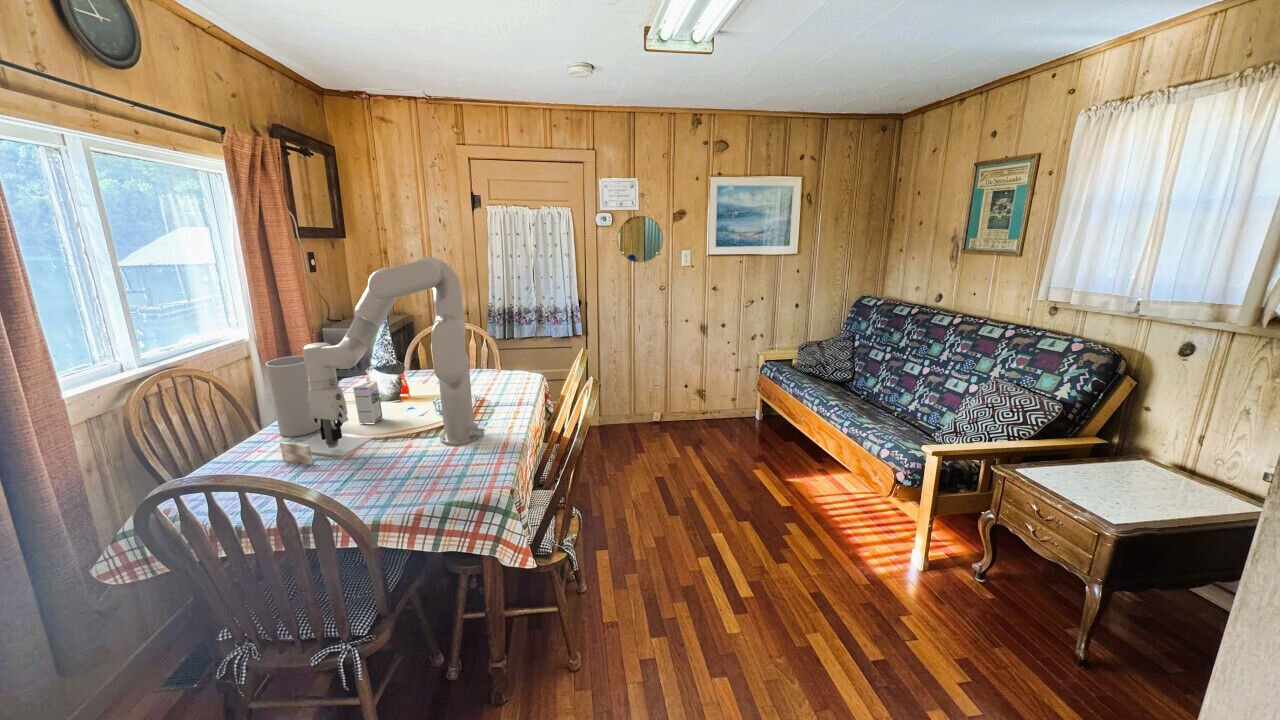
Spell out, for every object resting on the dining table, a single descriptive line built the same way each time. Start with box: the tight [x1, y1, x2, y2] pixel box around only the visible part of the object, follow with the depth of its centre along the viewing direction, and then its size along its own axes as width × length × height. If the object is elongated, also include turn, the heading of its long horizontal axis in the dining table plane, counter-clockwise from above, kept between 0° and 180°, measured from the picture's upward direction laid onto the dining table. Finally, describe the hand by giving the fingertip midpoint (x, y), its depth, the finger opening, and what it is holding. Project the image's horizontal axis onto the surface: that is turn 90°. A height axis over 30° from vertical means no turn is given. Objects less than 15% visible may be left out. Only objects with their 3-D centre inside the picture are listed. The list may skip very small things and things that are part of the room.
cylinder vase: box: [265, 355, 320, 438], centre depth 174 cm, size 12×12×25 cm
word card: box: [279, 441, 314, 465], centre depth 154 cm, size 10×1×6 cm, turn 77°
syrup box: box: [352, 380, 384, 424], centre depth 183 cm, size 6×6×14 cm
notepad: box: [299, 432, 375, 459], centre depth 167 cm, size 20×16×1 cm
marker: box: [322, 419, 339, 448], centre depth 160 cm, size 4×4×12 cm
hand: (332, 438), depth 161 cm, fingers closed on marker, 3 cm apart
